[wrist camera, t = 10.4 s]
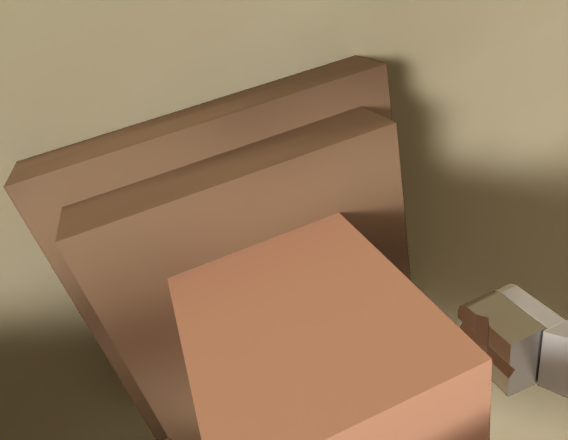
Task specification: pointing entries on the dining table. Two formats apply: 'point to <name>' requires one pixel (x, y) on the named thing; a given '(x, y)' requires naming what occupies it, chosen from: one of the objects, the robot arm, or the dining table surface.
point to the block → (325, 346)
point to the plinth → (207, 208)
